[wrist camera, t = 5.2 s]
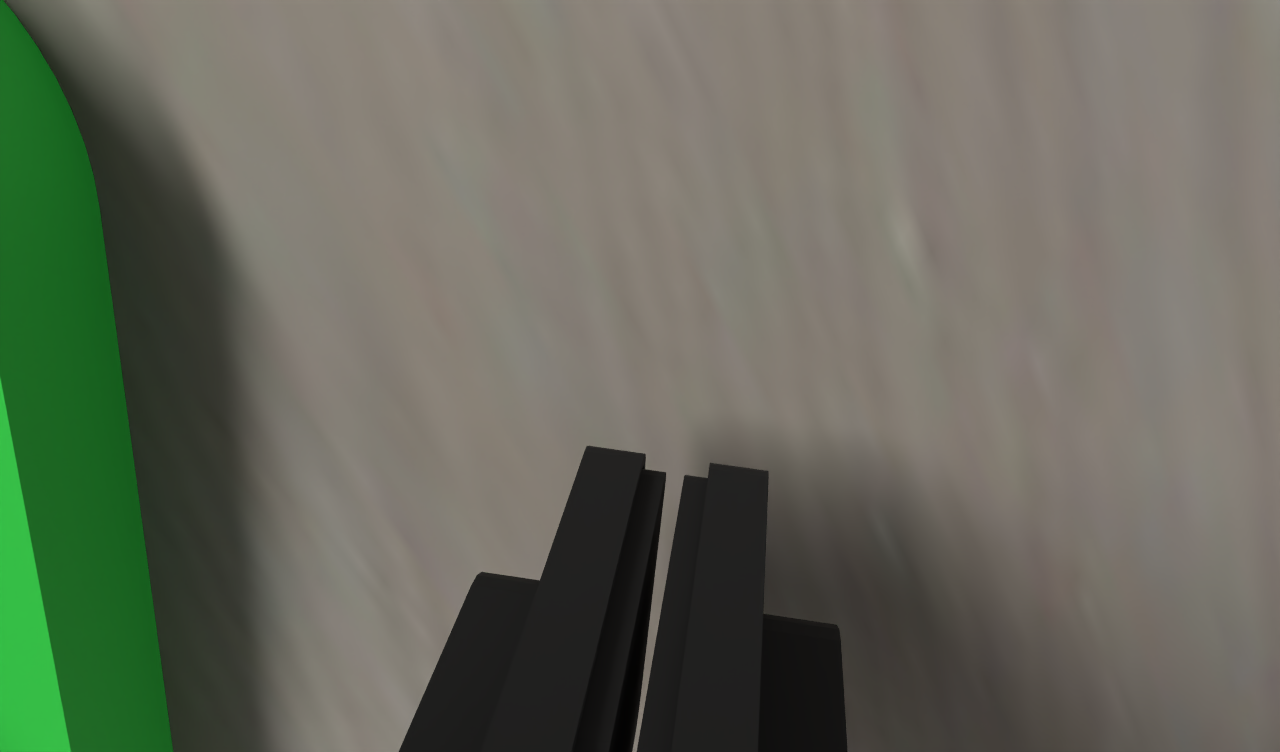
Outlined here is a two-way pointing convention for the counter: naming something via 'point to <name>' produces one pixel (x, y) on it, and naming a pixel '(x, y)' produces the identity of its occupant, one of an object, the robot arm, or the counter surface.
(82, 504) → the mechanical part
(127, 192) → the counter surface
